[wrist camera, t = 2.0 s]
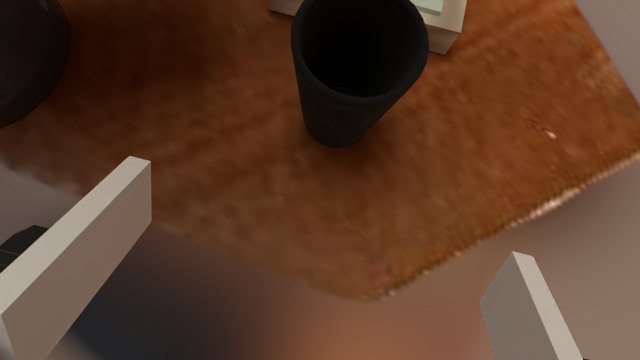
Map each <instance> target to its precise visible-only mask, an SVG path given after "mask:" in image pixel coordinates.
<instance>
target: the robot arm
mask: <svg viewBox="0 0 640 360" xmlns="http://www.w3.org/2000/svg"><path fill="white" fill-rule="evenodd" d="M68 47H69V32H68V25H67V21H66V18H65V15H64V13H63V10H62V8H61V6H60V4H59V3H58V1H57V0H0V127H2V126H5V125H7V124H9V123H11V122H13V121H15V120H17V119H18V118H20V117H22V116H23V115H25V114H26V113H28V112H29V111H30V110H32V109H33V108H34V107H35V106H36V105H37V104H39V103H40V102H41V101H42V100H43V99H44V98H45V96H46V95H47V94H48V93H49V92H50V90H51V89H52V88H53V86H54V85H55V83H56V82H57V80H58V78H59V76H60V74H61V72H62V70H63V67H64V65H65V62H66V58H67V53H68ZM151 222H152V210H151V161H148V160H144V159H140V158H136V157H132V156H129V157H128V158H127V159H125V160H124V161H123V162H122V163H121V164H120V165H119V166H118V167H117V168H116V169H114V170H113V171H112V172H111V173H110V174H109V175H108V176H107V177H106V178H105V179H104V180H102V181H101V182H100V183H99V184H98V185H97V186H96V187H95V188H94V189H93V190H91V191H90V192H89V193H88V194H87V195H86V196H85V197H84V198H83V199H82V200H81V201H79V202H78V203H77V204H76V205H75V206H74V207H73V208H72V209H71V210H70V211H68V212H67V213H66V214H65V215H64V216H63V217H62V218H61V219H60V220H59V221H57V222H56V223H55V224H54V225H53V226H52V227H51V228H50V229H48V228H44V227H40V226H36V225H33V226H31V227H29V228H27V229H25V230H23V231H20V232H18V233H16V234H14V235H13V236H12V237H10V238H9V239H8V240H7V241H6V242H4V243H3V244H2V245H1V246H0V360H45V359H46V358H47V356H48V355H49V354H50V353H51V351H52V350H53V349H54V347H55V346H56V344H58V342H59V341H60V340H61V338H62V337H63V336H64V334H65V333H66V332H67V330H68V329H69V328H70V327H71V325H72V324H73V323H74V321H75V320H76V319H77V318H78V316H79V315H80V314H81V312H82V311H83V310H84V309H85V307H86V306H87V305H88V303H89V302H90V300H91V299H92V298H93V297H94V296H95V294H96V293H97V291H98V290H99V289H100V288H101V286H102V285H103V284H104V283H105V281H106V280H107V279H108V277H109V276H110V275H111V273H112V272H113V271H114V270H115V268H116V267H117V266H118V264H119V263H120V262H121V261H122V259H123V258H124V256H125V255H126V254H127V253H128V251H129V250H130V249H131V248H132V246H133V245H134V244H135V242H136V241H137V240H138V238H139V237H140V236H141V234H142V233H143V232H144V230H145V229H146V228H147V227H148V226H149V224H150V223H151ZM479 304H480V307H481V311H482V314H483V318H484V321H485V325H486V328H487V332H488V336H489V339H490V342H491V346H492V350H493V353H494V357H495V360H588V359H584V358H582V356H581V354H580V352H579V350H578V348H577V346H576V344H575V342H574V340H573V338H572V336H571V334H570V332H569V330H568V327H567V326H566V324H565V321H564V319H563V317H562V315H561V313H560V311H559V309H558V307H557V305H556V303H555V301H554V299H553V297H552V295H551V293H550V291H549V288H548V286H547V285H546V283H545V280H544V278H543V276H542V274H541V272H540V270H539V268H538V266H537V264H536V262H535V260H534V258H533V256H529V255H525V254H521V253H517V252H513V251H512V252H511V254H510V255H509V257H508V258H507V260H506V262H505V263H504V264H503V266H502V268H501V269H500V271H499V272H498V274H497V275H496V277H495V278H494V280H493V281H492V283H491V285H490V286H489V288H488V289H487V291H486V292H485V294H484V295H483V297H482V298H481V300H480V301H479Z"/></svg>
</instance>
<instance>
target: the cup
mask: <svg viewBox="0 0 640 360" xmlns="http://www.w3.org/2000/svg"><path fill="white" fill-rule="evenodd" d="M291 48H292V54H293V59H294V65H295V71H296V77H297V83H298V89H299V95H300V101H301V106H302V112H303V118H304V122H305V126H306V128H307V130H308V132H309V133H310V135H311V136H312V137H313V138H314V139H315V140H317V141H318V142H320V143H321V144H324V145H326V146H329V147H337V148H338V147H346V146H348V145H351V144H353V143H355V142H356V141H358V140H359V139H360V138H361V137H362V136H363V135H364V134H365V133H366V132H367V131H368V130H369V129H370V128H371V127H372V126H373V125H374V124H375V123H376V122H377V121H378V120H379V119H380V118H381V117H382V116H383V115H384V114H385V113H386V112H387V111H388V110H389V109H390V108H391V107H392V106H393V105H394V104H395V103H396V102H397V101H398V100H399V99H400V98H401V97H402V96H403V95H404V94H405V93H406V92H407V91H408V90H409V89H410V87H411V86H412V85H413V84H414V83H415V82H416V81H417V79H418V78H419V77H420V75H421V73H422V71H423V69H424V67H425V65H426V63H427V58H428V52H429V37H428V31H427V28H426V25H425V22H424V19H423V17H422V16H421V14H420V12H419V11H418V9H417V8H416V6H415V5H414V4H413V3H412V2H411V1H410V0H304V1H303V2H302V4H301V5H300V7H299V9H298V10H297V12H296V14H295V17H294V20H293V24H292V27H291Z"/></svg>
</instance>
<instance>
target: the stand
mask: <svg viewBox="0 0 640 360" xmlns="http://www.w3.org/2000/svg"><path fill="white" fill-rule="evenodd" d="M303 1H304V0H268V9H269V10H273V11H277V12H281V13H284V14H288V15H292V16H295V14H296V12H297V10H298V9H299V7H300V5H301V4H302V2H303ZM410 1H411V2H412V3H413V4H414V5H415V6H416V8H417V9H418V11H419V12H420V14H421V16H422V17H423V19H424V22H425V25H426V28H427V31H428V37H429V51H431V52H435V53H439V54H443V55H445V53H446V52H447V51H448V49H449V48H450V47H451V45H452V44H453V43H454V41H455V40H456V39H457V37H458V36H459V35H460V33H461V30H462V24H463V19H464V13H465V8H466V2H467V0H410Z"/></svg>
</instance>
